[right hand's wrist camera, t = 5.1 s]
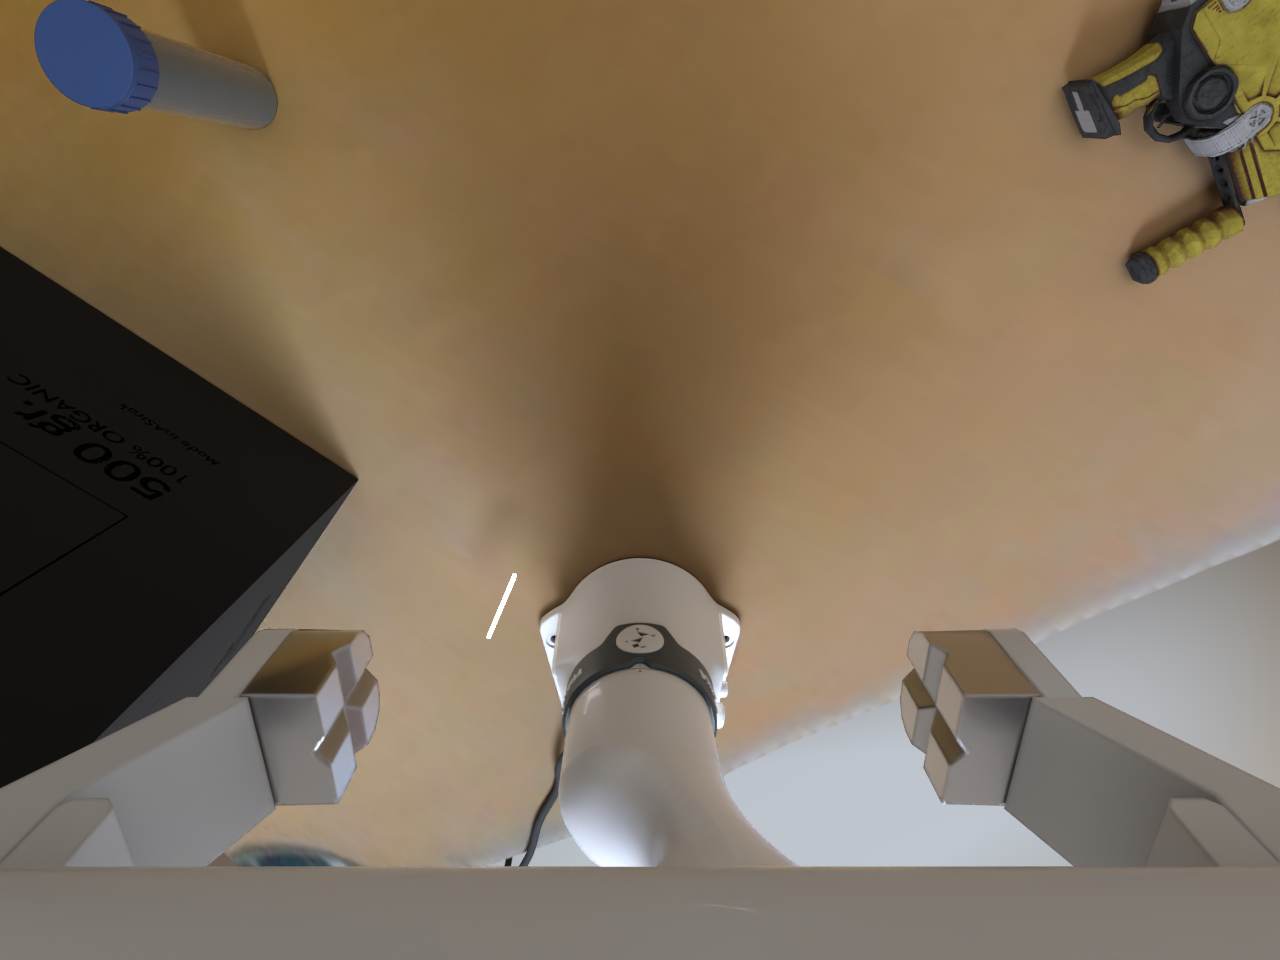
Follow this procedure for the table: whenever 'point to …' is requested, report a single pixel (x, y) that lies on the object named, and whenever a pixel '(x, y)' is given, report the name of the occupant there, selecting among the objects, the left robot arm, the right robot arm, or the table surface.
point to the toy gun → (1199, 109)
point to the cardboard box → (129, 524)
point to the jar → (210, 86)
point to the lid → (96, 56)
